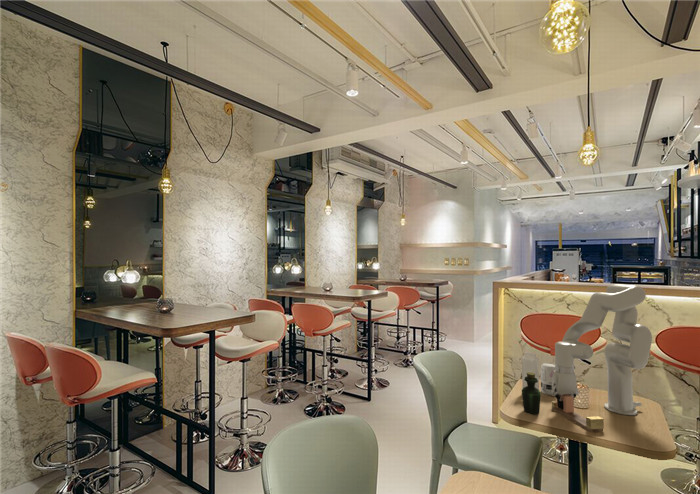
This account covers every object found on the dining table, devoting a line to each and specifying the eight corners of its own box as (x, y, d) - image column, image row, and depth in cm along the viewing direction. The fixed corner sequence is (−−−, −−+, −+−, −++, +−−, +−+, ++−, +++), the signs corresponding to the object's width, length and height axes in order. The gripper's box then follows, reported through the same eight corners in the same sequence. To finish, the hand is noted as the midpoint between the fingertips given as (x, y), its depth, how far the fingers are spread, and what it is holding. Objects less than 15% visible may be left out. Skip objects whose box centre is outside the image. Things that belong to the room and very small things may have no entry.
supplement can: (544, 389, 196) (544, 361, 196) (560, 393, 189) (560, 365, 190) (538, 392, 191) (537, 364, 191) (554, 397, 184) (554, 368, 185)
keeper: (564, 406, 168) (564, 392, 169) (573, 412, 162) (573, 396, 163) (556, 407, 168) (556, 392, 168) (566, 412, 162) (565, 397, 162)
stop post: (599, 425, 150) (598, 416, 150) (603, 428, 147) (603, 418, 147) (586, 426, 149) (586, 416, 149) (590, 429, 146) (590, 419, 147)
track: (563, 408, 170) (563, 400, 170) (603, 431, 148) (603, 422, 148) (552, 408, 170) (551, 401, 170) (590, 431, 147) (590, 423, 147)
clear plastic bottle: (533, 397, 184) (533, 354, 185) (522, 393, 189) (521, 352, 190) (539, 394, 188) (538, 352, 189) (527, 390, 193) (527, 350, 194)
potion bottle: (518, 410, 168) (517, 371, 169) (530, 407, 171) (529, 369, 172) (532, 417, 161) (532, 377, 161) (545, 414, 164) (544, 374, 165)
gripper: (574, 366, 171) (575, 404, 170) (542, 367, 168) (543, 406, 168) (586, 370, 163) (587, 410, 162) (553, 372, 161) (554, 412, 160)
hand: (565, 408), depth 165 cm, fingers closed on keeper, 4 cm apart
